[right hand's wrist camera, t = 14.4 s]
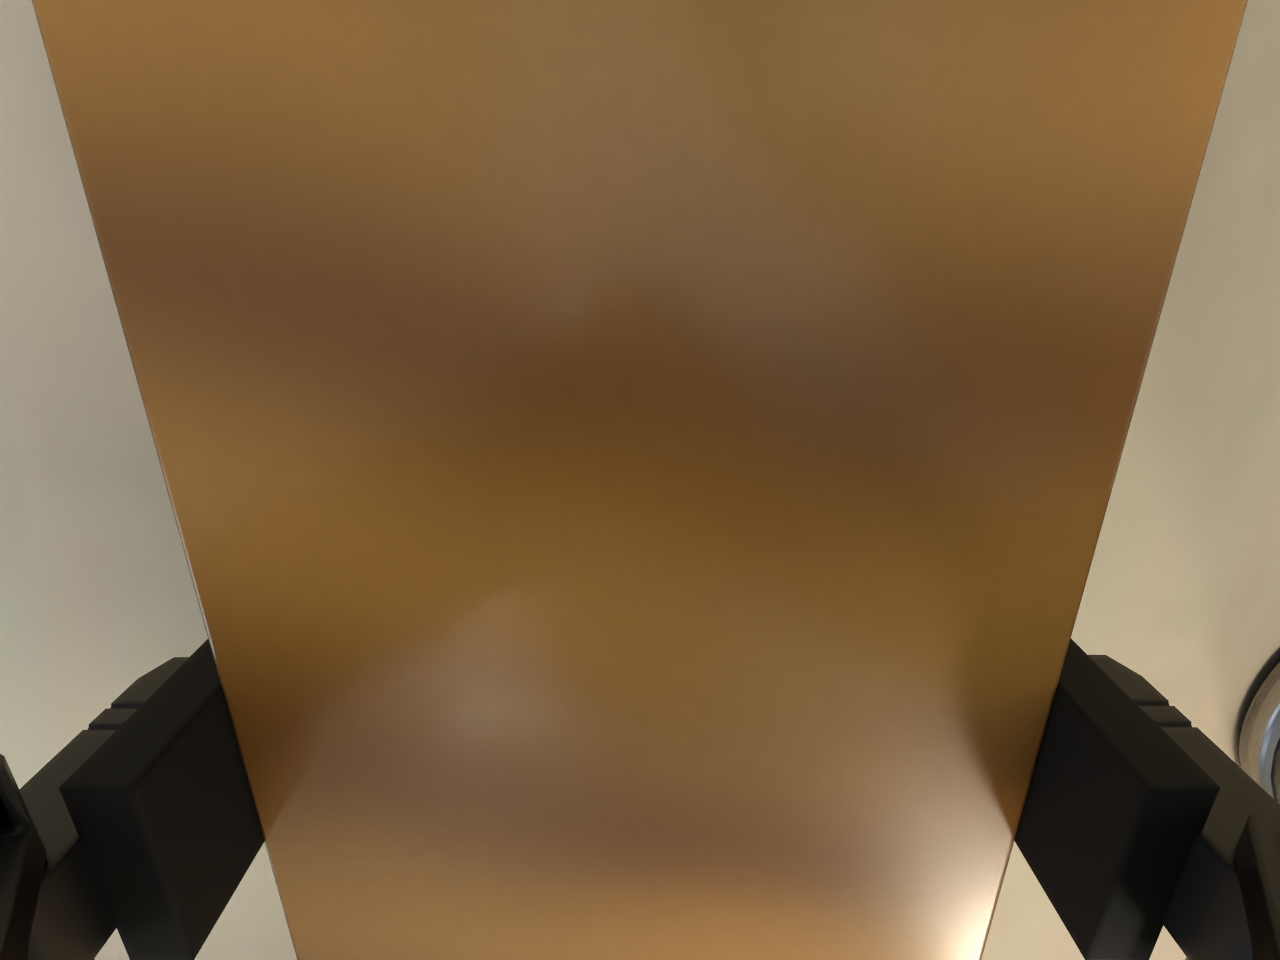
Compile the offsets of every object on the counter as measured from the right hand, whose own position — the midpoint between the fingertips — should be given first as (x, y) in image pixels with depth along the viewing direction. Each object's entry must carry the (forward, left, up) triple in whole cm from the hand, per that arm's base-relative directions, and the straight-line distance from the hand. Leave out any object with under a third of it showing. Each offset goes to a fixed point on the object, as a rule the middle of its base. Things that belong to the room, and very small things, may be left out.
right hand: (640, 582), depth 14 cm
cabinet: (+5, -3, -4) cm, 7 cm away
